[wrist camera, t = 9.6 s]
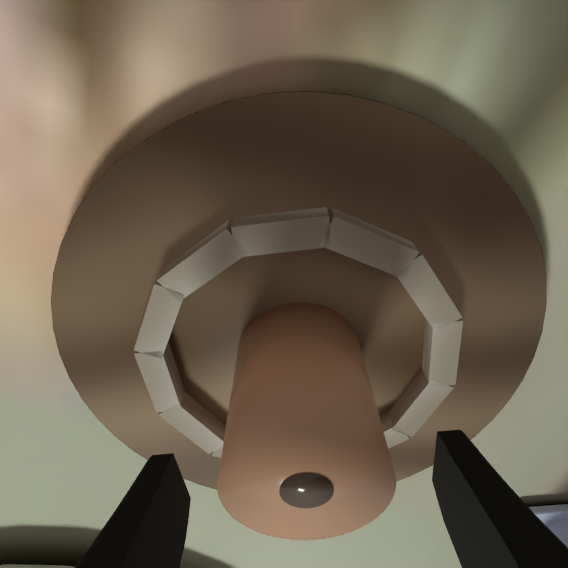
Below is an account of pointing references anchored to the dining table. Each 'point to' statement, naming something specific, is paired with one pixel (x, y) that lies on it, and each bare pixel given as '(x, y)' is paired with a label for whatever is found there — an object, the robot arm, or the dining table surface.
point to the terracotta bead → (303, 429)
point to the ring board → (297, 271)
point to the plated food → (34, 566)
